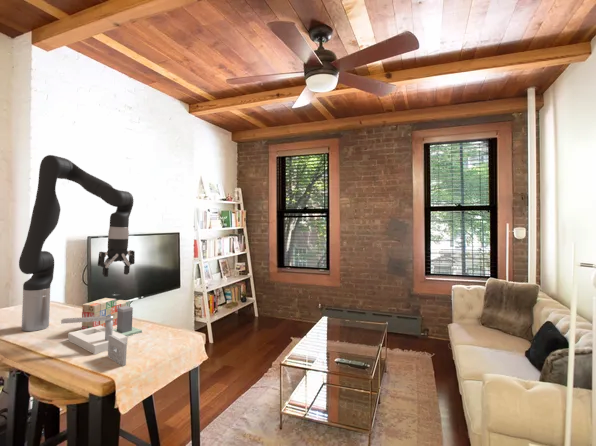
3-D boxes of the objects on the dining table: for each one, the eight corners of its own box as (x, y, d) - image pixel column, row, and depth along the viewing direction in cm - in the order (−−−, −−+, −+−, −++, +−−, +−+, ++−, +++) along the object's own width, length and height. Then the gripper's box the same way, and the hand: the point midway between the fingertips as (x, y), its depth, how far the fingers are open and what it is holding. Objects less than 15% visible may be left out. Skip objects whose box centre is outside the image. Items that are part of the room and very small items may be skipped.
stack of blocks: (119, 318, 157) (120, 293, 157) (130, 319, 156) (131, 294, 156) (81, 332, 136) (82, 303, 136) (93, 334, 135) (94, 305, 135)
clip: (113, 318, 124) (113, 315, 124) (112, 320, 121) (112, 317, 121) (63, 321, 118) (63, 318, 118) (60, 323, 115) (61, 320, 115)
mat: (106, 333, 136) (106, 331, 136) (129, 327, 145) (129, 325, 145) (118, 338, 131) (118, 336, 131) (142, 332, 139) (142, 330, 139)
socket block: (68, 340, 127) (69, 314, 127) (100, 332, 137) (100, 308, 137) (94, 354, 116) (95, 325, 116) (127, 344, 126) (128, 318, 126)
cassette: (127, 365, 109) (128, 342, 109) (121, 366, 107) (122, 344, 107) (111, 355, 116) (112, 333, 116) (106, 356, 114) (107, 335, 114)
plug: (116, 331, 137) (117, 307, 137) (126, 328, 141) (127, 305, 141) (122, 333, 135) (123, 309, 135) (131, 330, 139) (132, 307, 139)
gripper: (129, 236, 144) (127, 272, 144) (96, 236, 132) (93, 276, 132) (139, 238, 140) (137, 275, 140) (105, 238, 128) (103, 278, 128)
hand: (116, 275), depth 136 cm, fingers open, 8 cm apart
